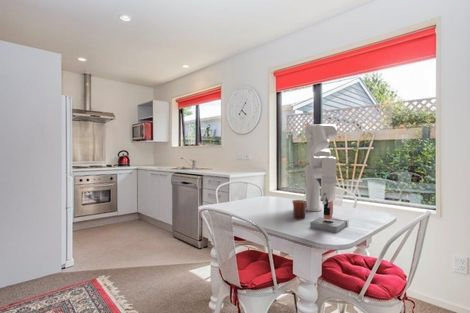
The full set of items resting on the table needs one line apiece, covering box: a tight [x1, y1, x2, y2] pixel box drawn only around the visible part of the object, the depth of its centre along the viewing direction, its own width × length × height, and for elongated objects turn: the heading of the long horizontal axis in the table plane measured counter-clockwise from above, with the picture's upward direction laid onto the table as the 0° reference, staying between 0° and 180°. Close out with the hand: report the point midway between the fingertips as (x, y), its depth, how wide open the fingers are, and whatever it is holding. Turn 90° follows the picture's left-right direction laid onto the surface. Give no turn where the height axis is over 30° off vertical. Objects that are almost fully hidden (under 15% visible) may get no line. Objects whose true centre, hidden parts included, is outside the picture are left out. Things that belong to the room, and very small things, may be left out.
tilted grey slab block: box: [332, 216, 350, 228], centre depth 153 cm, size 10×3×3 cm, turn 52°
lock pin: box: [323, 200, 333, 220], centre depth 146 cm, size 3×3×10 cm
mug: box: [291, 199, 307, 220], centre depth 168 cm, size 12×9×10 cm
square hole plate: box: [309, 217, 347, 234], centre depth 146 cm, size 14×14×3 cm
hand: (328, 213), depth 146 cm, fingers closed on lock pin, 3 cm apart
